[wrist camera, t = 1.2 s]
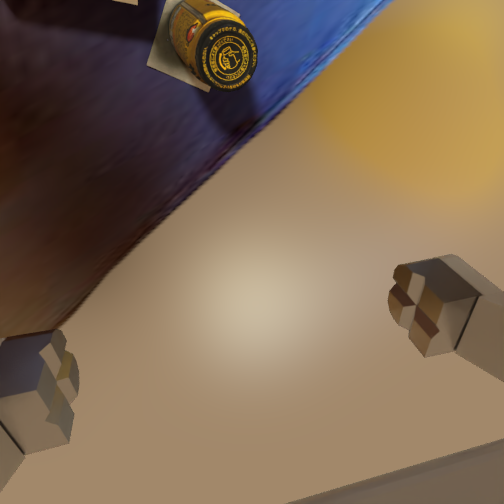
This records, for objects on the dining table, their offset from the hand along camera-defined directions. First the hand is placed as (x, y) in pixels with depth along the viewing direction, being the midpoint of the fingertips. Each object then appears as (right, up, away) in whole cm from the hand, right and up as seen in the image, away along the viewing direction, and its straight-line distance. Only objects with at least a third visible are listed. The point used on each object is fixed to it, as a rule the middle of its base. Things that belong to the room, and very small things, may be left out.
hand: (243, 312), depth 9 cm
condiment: (-6, +24, +29) cm, 38 cm away
